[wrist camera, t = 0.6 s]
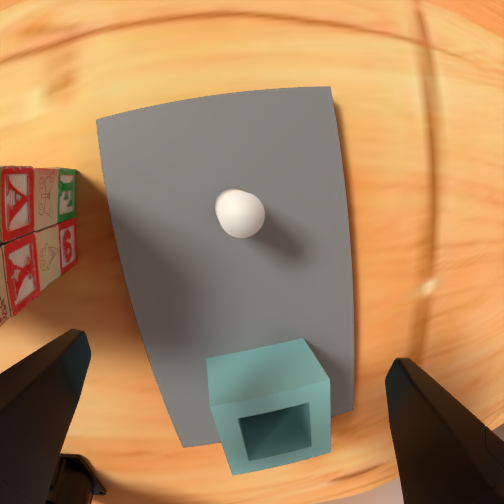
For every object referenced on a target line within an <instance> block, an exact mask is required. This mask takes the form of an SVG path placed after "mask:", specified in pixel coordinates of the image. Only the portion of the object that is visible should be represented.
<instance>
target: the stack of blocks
mask: <svg viewBox="0 0 504 504" xmlns="http://www.w3.org/2000/svg"><path fill="white" fill-rule="evenodd" d="M76 173H77V171H76V170H75V169H68V168H58V167H56V168H33V167H31V166H0V326H1V325H2V324H3V323H4V322H6V321H7V320H8V319H9V317H11V316H15V315H16V314H18V313H19V312H20V311H21V310H22V309H23V308H25V307H26V306H27V305H28V304H29V303H30V302H31V301H33V300H34V299H35V298H36V297H37V296H38V295H39V294H40V292H41V291H43V290H44V289H45V288H46V287H47V286H48V285H49V284H51V283H52V282H53V281H54V280H56V279H57V278H58V277H59V276H61V275H63V274H64V273H65V272H67V271H68V270H69V269H70V268H71V267H73V266H74V265H76V264H77V244H76V218H75V196H76Z"/></svg>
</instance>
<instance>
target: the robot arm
mask: <svg viewBox="0 0 504 504" xmlns="http://www.w3.org/2000/svg"><path fill="white" fill-rule="evenodd" d="M90 359H91V350H90V347H89V343H88V340H87V336H86V334H85V332H84V331H81V330H76V329H71V330H69V331H67V332H66V333H64V334H62V335H61V336H59V337H58V338H56V339H54V340H53V341H51V342H50V343H48V344H46V345H45V346H43V347H42V348H40V349H38V350H37V351H35V352H34V353H32V354H30V355H29V356H27V357H26V358H24V359H23V360H21V361H19V362H18V363H16V364H15V365H13V366H12V367H10V368H8V369H7V370H5V371H4V372H2V373H1V374H0V504H91V502H92V498H93V495H106V490H105V488H104V487H103V486H102V485H101V483H100V482H99V481H98V479H97V478H96V477H95V475H94V474H93V473H92V471H91V470H90V468H89V467H88V466H87V464H86V463H85V461H84V460H83V458H82V457H80V456H79V455H69V454H60V452H61V449H62V446H63V443H64V440H65V437H66V434H67V432H68V429H69V426H70V423H71V421H72V418H73V415H74V413H75V410H76V407H77V404H78V402H79V398H80V395H81V391H82V388H83V384H84V380H85V377H86V373H87V369H88V366H89V363H90ZM385 386H386V395H387V403H388V412H389V422H390V429H391V434H392V439H393V444H394V449H395V454H396V459H397V464H398V470H399V475H400V481H401V487H402V493H403V500H404V504H504V441H503V440H501V439H500V438H499V437H498V436H497V435H496V434H494V433H493V432H492V431H491V430H490V429H489V428H488V427H487V426H485V425H484V424H483V423H482V422H481V421H480V420H479V419H478V418H477V417H476V416H474V415H473V414H472V413H471V412H470V411H469V410H468V409H467V408H466V407H464V406H463V405H462V404H461V403H460V402H459V401H458V400H457V399H455V398H454V397H453V396H452V395H451V394H450V393H449V392H448V391H446V390H445V389H444V388H443V387H442V386H441V385H440V384H438V383H437V382H436V381H435V380H434V379H433V378H432V377H430V376H429V375H428V374H427V373H426V372H425V371H424V370H422V369H421V368H420V367H419V366H418V365H417V364H416V363H414V362H413V361H412V360H411V359H410V358H396V359H395V360H394V362H393V364H392V366H391V368H390V370H389V372H388V374H387V376H386V379H385Z"/></svg>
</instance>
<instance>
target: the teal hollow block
mask: <svg viewBox="0 0 504 504" xmlns="http://www.w3.org/2000/svg"><path fill="white" fill-rule="evenodd" d="M206 362H207V376H208V389H209V402H210V408H211V412H212V415H213V418H214V421H215V424H216V428H217V431H218V434H219V437H220V440H221V443H222V446H223V449H224V452H225V455H226V458H227V461H228V464H229V466H230V469H231V472H232V475H238V474H243V473H249V472H254V471H259V470H264V469H269V468H273V467H277V466H282V465H286V464H290V463H294V462H298V461H302V460H305V459H309V458H312V457H316V456H319V455H323V454H326V453H329V452H331V408H330V379H329V377H328V376H327V374H326V372H325V371H324V369H323V368H322V366H321V365H320V363H319V362H318V360H317V359H316V357H315V355H314V354H313V352H312V351H311V349H310V348H309V346H308V345H307V343H306V342H305V340H304V338H301V339H297V340H292V341H288V342H284V343H279V344H275V345H270V346H266V347H261V348H256V349H251V350H246V351H241V352H236V353H231V354H226V355H220V356H215V357H209V358H206Z"/></svg>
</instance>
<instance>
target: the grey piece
mask: <svg viewBox="0 0 504 504" xmlns="http://www.w3.org/2000/svg"><path fill="white" fill-rule="evenodd" d="M96 124H97V133H98V141H99V149H100V156H101V163H102V170H103V176H104V183H105V188H106V194H107V200H108V205H109V210H110V216H111V221H112V226H113V230H114V235H115V240H116V244H117V249H118V253H119V257H120V261H121V265H122V269H123V273H124V277H125V281H126V285H127V289H128V293H129V296H130V300H131V303H132V307H133V310H134V314H135V317H136V321H137V324H138V327H139V330H140V334H141V337H142V340H143V343H144V346H145V349H146V352H147V355H148V358H149V361H150V364H151V367H152V370H153V373H154V376H155V378H156V381H157V384H158V387H159V389H160V392H161V395H162V397H163V400H164V402H165V405H166V408H167V410H168V413H169V415H170V418H171V420H172V423H173V425H174V427H175V430H176V432H177V434H178V437H179V439H180V441H181V444H182V446H183V448H185V447H193V446H201V445H208V444H214V443H221V440H220V437H219V434H218V431H217V428H216V424H215V421H214V418H213V415H212V412H211V408H210V402H209V389H208V376H207V362H206V358H209V357H215V356H220V355H226V354H231V353H236V352H241V351H246V350H251V349H256V348H261V347H266V346H270V345H275V344H279V343H284V342H288V341H292V340H297V339H301V338H304V340H305V342H306V343H307V345H308V346H309V348H310V349H311V351H312V352H313V354H314V355H315V357H316V359H317V360H318V362H319V363H320V365H321V366H322V368H323V369H324V371H325V372H326V374H327V376H328V377H329V379H330V408H331V417H332V416H336V415H339V414H342V413H345V412H348V411H351V410H353V393H354V302H353V278H352V260H351V245H350V231H349V220H348V209H347V199H346V189H345V180H344V172H343V164H342V156H341V149H340V142H339V135H338V128H337V122H336V116H335V110H334V104H333V98H332V93H331V87H297V88H280V89H266V90H255V91H245V92H236V93H227V94H220V95H212V96H205V97H199V98H193V99H187V100H181V101H175V102H170V103H165V104H160V105H155V106H150V107H145V108H141V109H136V110H132V111H128V112H123V113H119V114H115V115H112V116H108V117H104V118H100V119H97V120H96Z"/></svg>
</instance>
